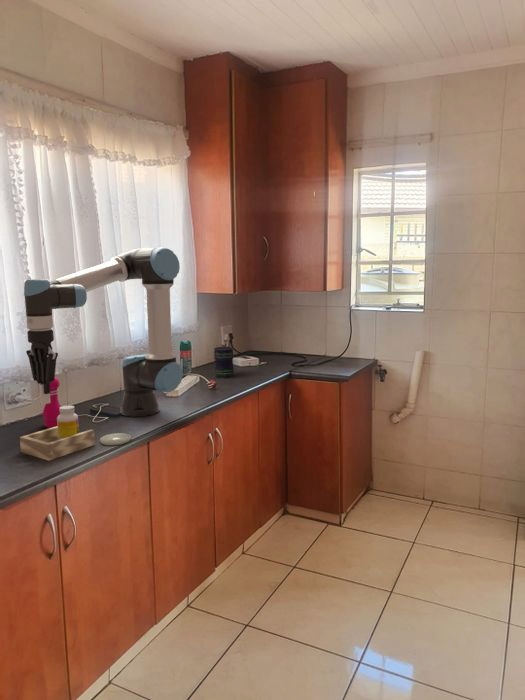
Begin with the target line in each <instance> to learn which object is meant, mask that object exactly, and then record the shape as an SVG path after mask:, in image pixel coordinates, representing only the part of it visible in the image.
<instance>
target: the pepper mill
mask: <svg viewBox="0 0 525 700" xmlns="http://www.w3.org/2000/svg"><path fill="white" fill-rule="evenodd" d="M59 387H60V381H59V379H58V378H57V377H56V376H55V379H54V382H51V383H50V401H51V403H48V404H44V408H43V410H42V418H43V419H44V420H45V421H44V427H45V428H46V429H49V428H52V427H56V426H57V417H58V416H59V415H60V411H59V408H60V407H62V406H61V404H60V402H59V398H58V397H59V395H58V394H59V393H60V391H59V389H58V388H59Z"/></svg>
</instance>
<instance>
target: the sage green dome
mask: <svg viewBox="0 0 525 700" xmlns="http://www.w3.org/2000/svg"><path fill="white" fill-rule="evenodd" d="M131 440H132V437H131V435H130V434H128V433H123V432H120V433H119V432H117V433H115V432H114V433H108V434H105V435H103V436H101V437H100V439H99V441H100V442H99V443H100V444H101V445H102V446H103V445H104V446H120V445H125V444H127V443H129V442H131Z"/></svg>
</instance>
